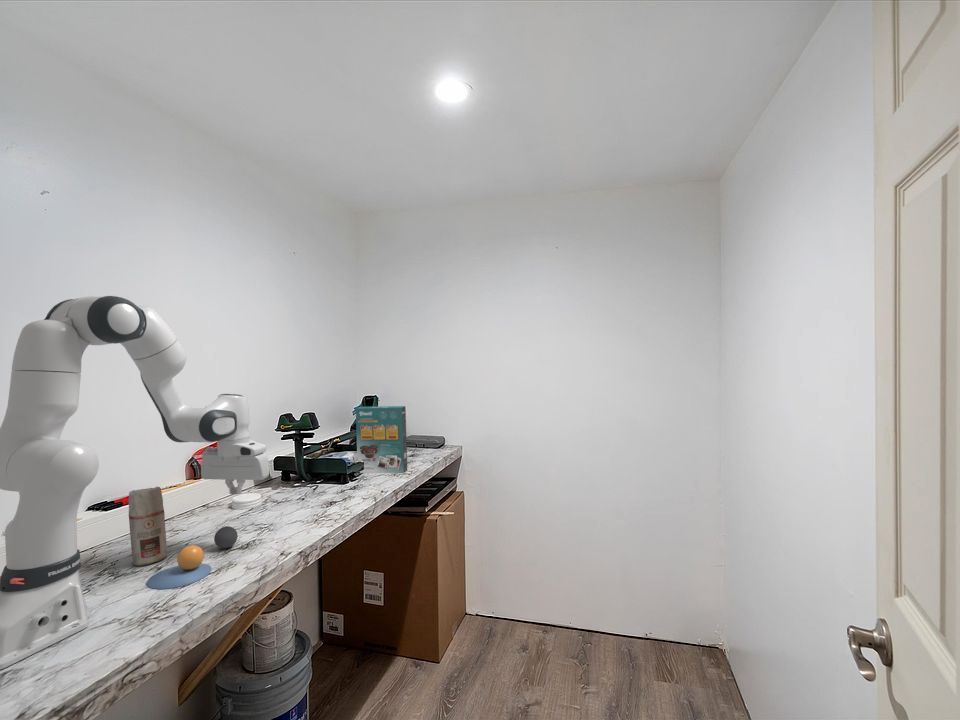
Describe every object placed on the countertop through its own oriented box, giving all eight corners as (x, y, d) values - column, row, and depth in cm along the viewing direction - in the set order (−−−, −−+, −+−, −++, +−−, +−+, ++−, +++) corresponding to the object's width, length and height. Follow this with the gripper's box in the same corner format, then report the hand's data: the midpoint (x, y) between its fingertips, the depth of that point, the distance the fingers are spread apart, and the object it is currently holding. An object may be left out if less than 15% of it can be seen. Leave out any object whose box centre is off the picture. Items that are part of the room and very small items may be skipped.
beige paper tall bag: (125, 568, 130) (121, 493, 130) (137, 556, 138) (134, 485, 138) (161, 564, 132) (158, 490, 132) (171, 552, 140) (168, 482, 140)
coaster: (242, 511, 176) (242, 502, 176) (226, 507, 181) (225, 498, 181) (267, 504, 185) (266, 494, 185) (250, 500, 190) (250, 491, 190)
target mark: (184, 590, 117) (184, 589, 117) (132, 587, 119) (132, 587, 119) (223, 564, 131) (223, 564, 131) (176, 563, 133) (175, 562, 133)
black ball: (244, 530, 146) (236, 551, 143) (226, 530, 147) (218, 550, 143) (234, 523, 142) (225, 544, 138) (215, 523, 142) (206, 544, 139)
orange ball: (211, 546, 132) (205, 571, 130) (191, 545, 133) (184, 570, 131) (196, 544, 127) (190, 570, 124) (175, 544, 128) (168, 569, 125)
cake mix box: (407, 470, 231) (405, 406, 230) (403, 473, 225) (401, 407, 224) (362, 469, 234) (360, 406, 233) (357, 473, 228) (355, 408, 227)
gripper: (194, 449, 146) (196, 496, 146) (258, 450, 142) (260, 497, 143) (209, 445, 152) (211, 490, 152) (271, 445, 149) (272, 491, 149)
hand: (235, 493), depth 147 cm, fingers closed
